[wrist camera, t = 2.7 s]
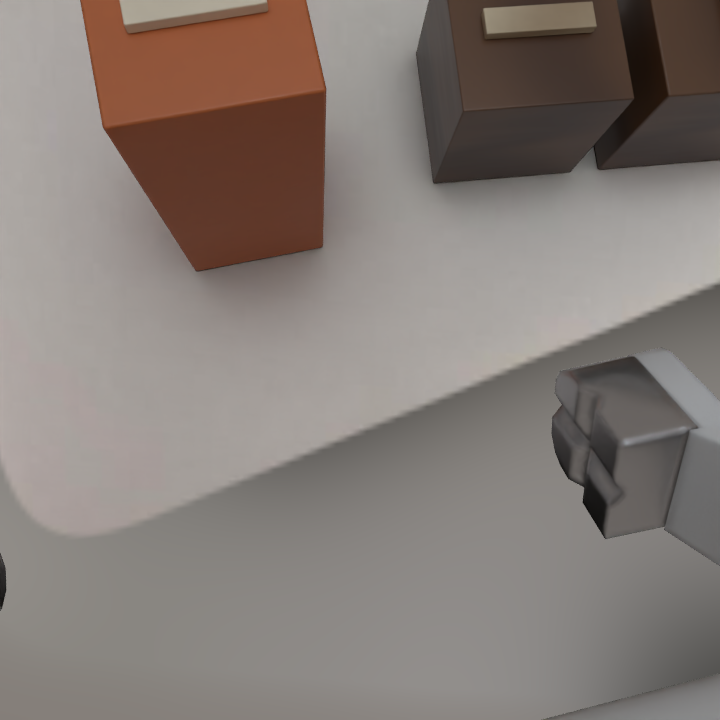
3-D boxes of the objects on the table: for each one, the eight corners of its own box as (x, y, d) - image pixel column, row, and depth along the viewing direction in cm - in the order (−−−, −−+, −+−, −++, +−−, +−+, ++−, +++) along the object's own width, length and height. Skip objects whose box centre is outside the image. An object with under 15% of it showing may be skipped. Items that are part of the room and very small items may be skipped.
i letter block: (195, 271, 23) (96, 120, 13) (172, 150, 23) (60, -86, 13) (323, 247, 23) (327, 82, 13) (297, 129, 24) (281, -118, 14)
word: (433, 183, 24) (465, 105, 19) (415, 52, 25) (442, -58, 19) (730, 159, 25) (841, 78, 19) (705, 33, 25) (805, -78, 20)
